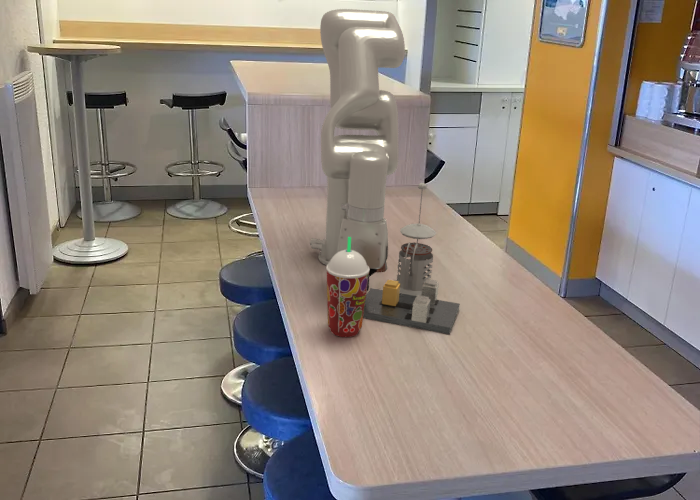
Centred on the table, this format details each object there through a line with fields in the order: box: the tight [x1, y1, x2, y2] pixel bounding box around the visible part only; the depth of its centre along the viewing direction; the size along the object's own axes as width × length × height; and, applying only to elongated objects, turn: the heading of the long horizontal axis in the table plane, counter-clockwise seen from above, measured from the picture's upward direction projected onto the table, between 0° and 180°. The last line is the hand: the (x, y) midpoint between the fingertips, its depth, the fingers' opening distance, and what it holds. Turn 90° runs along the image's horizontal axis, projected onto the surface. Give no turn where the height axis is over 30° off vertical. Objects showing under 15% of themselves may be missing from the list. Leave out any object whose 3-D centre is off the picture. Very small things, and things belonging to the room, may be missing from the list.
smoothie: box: [325, 237, 370, 338], centre depth 132 cm, size 8×8×20 cm
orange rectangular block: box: [382, 279, 400, 306], centre depth 144 cm, size 3×3×5 cm
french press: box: [395, 182, 437, 296], centre depth 152 cm, size 10×12×25 cm
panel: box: [363, 278, 461, 335], centre depth 143 cm, size 20×12×6 cm, turn 73°
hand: (360, 292), depth 146 cm, fingers closed
